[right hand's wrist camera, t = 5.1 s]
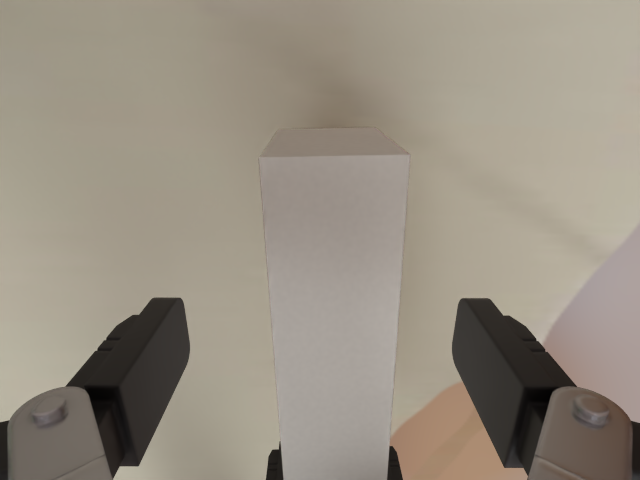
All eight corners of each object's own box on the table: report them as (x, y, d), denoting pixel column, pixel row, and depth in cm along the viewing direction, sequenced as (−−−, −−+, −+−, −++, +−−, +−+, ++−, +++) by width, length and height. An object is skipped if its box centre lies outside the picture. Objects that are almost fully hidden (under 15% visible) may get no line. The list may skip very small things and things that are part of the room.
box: (277, 128, 24) (258, 157, 15) (375, 127, 24) (410, 154, 15) (295, 430, 34) (289, 552, 25) (364, 428, 34) (382, 549, 25)
